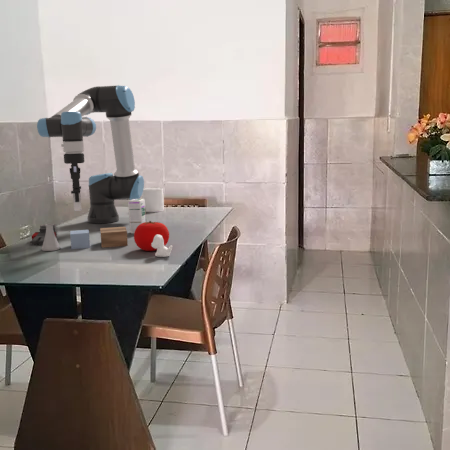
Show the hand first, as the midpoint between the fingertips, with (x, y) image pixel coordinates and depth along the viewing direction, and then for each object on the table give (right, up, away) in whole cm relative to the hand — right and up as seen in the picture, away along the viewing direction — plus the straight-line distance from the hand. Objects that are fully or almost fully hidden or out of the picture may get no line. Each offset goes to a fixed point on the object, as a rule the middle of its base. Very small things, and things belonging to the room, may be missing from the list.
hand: (77, 208), depth 216 cm
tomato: (+30, -16, -5) cm, 34 cm away
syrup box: (+19, -10, +28) cm, 36 cm away
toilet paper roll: (+18, +1, +88) cm, 90 cm away
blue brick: (0, -15, +3) cm, 15 cm away
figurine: (+35, -18, -16) cm, 42 cm away
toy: (-17, -14, +15) cm, 27 cm away
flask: (-10, -16, -1) cm, 19 cm away
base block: (+13, -14, +6) cm, 20 cm away
